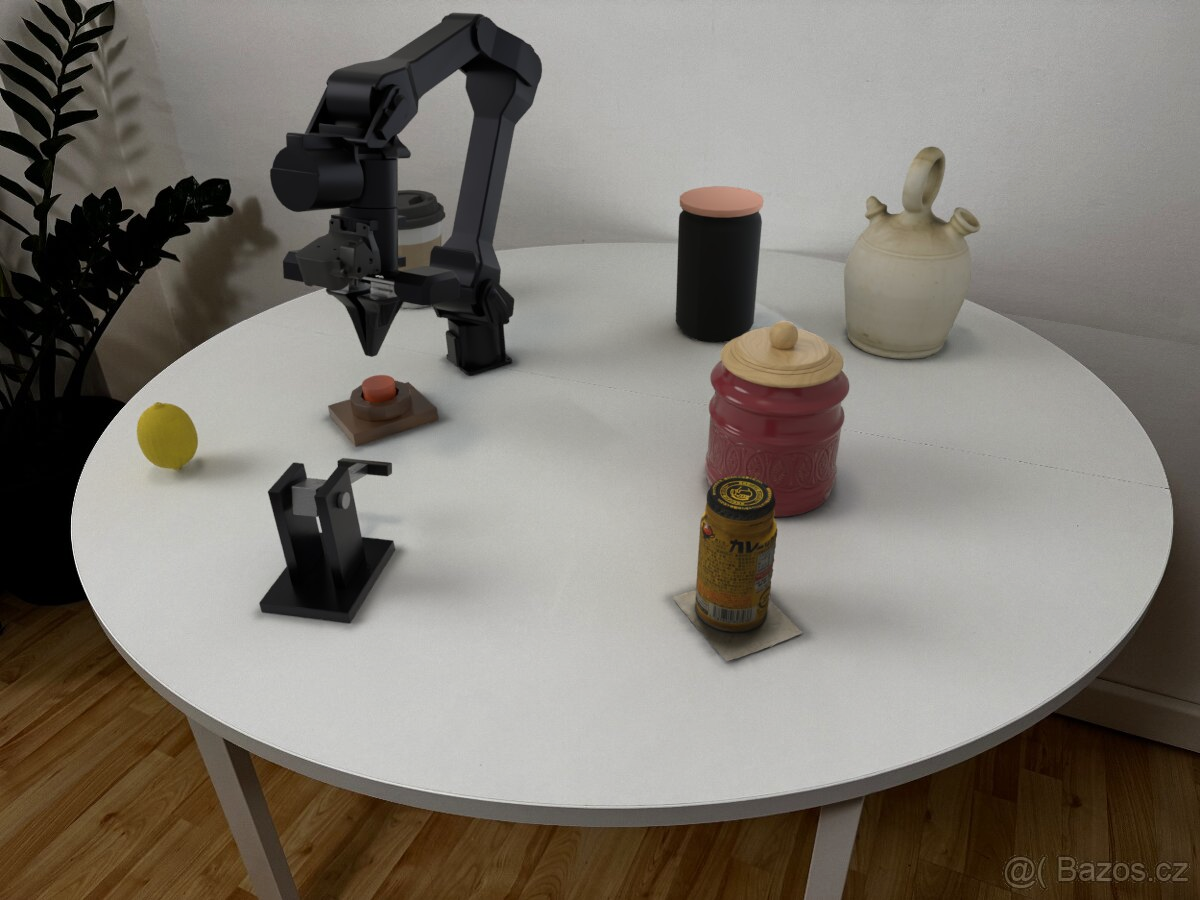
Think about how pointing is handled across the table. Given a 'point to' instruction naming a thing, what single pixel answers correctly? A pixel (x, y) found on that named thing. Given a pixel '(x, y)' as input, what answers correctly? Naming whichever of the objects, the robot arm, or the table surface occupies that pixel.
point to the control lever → (309, 487)
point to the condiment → (737, 570)
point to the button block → (382, 414)
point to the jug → (909, 269)
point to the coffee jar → (717, 262)
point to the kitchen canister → (778, 414)
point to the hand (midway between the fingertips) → (371, 355)
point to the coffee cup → (418, 229)
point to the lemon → (167, 436)
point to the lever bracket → (323, 552)
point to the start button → (379, 388)
